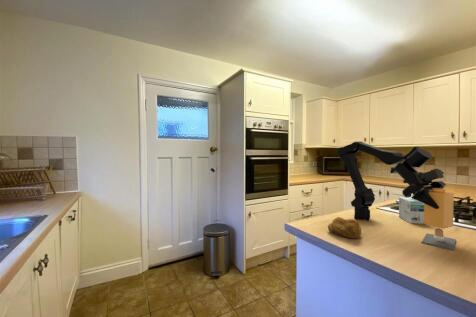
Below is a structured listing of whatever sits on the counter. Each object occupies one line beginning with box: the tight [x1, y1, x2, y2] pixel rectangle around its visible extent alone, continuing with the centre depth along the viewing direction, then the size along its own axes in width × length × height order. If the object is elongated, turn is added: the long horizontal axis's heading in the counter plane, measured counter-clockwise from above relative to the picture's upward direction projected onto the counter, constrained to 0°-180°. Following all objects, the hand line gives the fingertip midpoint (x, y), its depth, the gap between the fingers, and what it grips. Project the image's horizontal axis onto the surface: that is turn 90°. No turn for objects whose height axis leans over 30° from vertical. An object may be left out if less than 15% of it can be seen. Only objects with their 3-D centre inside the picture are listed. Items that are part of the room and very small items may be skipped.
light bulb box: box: [398, 196, 425, 225], centre depth 105 cm, size 11×7×11 cm, turn 168°
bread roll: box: [327, 217, 362, 240], centre depth 89 cm, size 13×10×8 cm
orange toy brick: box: [424, 188, 455, 230], centre depth 80 cm, size 6×6×14 cm
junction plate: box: [421, 227, 457, 251], centre depth 80 cm, size 12×8×5 cm
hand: (443, 207), depth 79 cm, fingers closed on orange toy brick, 6 cm apart
